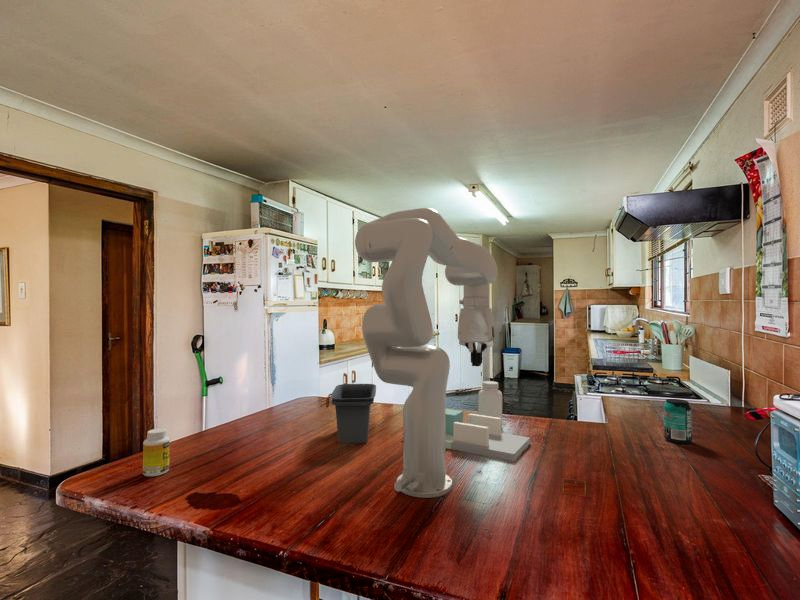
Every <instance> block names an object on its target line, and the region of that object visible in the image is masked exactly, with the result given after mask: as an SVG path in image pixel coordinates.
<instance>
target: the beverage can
mask: <svg viewBox="0 0 800 600" xmlns="http://www.w3.org/2000/svg"><path fill="white" fill-rule="evenodd" d="M689 403H690V402H689V401H688V400H684V399H679V398H668V399H665V402H664V404H663V438H664V439H665V440H666V441H668V442H671V443H673V444H680V445H688V444H691V442H692V441H693V429H692V428H693V425H692V424H693V423H692V414H693V413H692V409H693V408H692V406H691V405H690V404H689Z"/></svg>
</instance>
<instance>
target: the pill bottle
mask: <svg viewBox="0 0 800 600" xmlns="http://www.w3.org/2000/svg"><path fill="white" fill-rule="evenodd" d="M477 395H478V404H477V405H478V408H477V412H478V413H477V415H484V416H491V417H498V418H501V427H503V393H502V391H501V390H499V382H498V381H492V380H486V381H482V388H481V389H480V390H479V391H478V394H477Z"/></svg>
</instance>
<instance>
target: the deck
mask: <svg viewBox="0 0 800 600" xmlns="http://www.w3.org/2000/svg"><path fill="white" fill-rule="evenodd" d="M467 415H468V419H467V423H465V422H463V423H460V422H454V435H449V434H445V447H446V450H447V449H448V450H453V451H457V450H458V451H459V452H462V453H468V454H472V455H478V456H483V457H487V456H488V458H493V459H498V460H503V461H509V462H512V461H513V462H514V461H515V462H516V461H517V460H518V459H519V458H520V457H521V455H522V454H523V453H524V452H525V451H524V450H527V448H529V446H530V445H531V437H527V436H523V435H516V434H509V433H503V432H502V428H501V418H498V417H491V416H484V415H478V413H475V414H474V413H468V414H467ZM529 444H530V445H529ZM528 445H529V446H528ZM523 451H524V452H523ZM522 452H523V453H522ZM521 453H522V454H521ZM513 462H512V463H513Z"/></svg>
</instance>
